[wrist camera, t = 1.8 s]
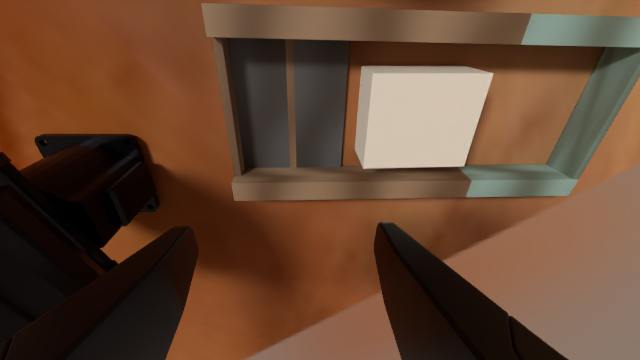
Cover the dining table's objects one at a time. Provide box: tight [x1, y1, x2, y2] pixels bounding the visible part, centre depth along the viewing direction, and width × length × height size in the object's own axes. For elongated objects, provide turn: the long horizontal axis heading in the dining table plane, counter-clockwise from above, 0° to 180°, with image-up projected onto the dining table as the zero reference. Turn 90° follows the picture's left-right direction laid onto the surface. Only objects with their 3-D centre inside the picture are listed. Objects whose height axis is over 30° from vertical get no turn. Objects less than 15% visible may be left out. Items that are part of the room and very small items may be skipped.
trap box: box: [201, 3, 640, 201], centre depth 18 cm, size 26×12×2 cm, turn 89°
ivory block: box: [355, 66, 494, 169], centre depth 18 cm, size 7×6×4 cm
